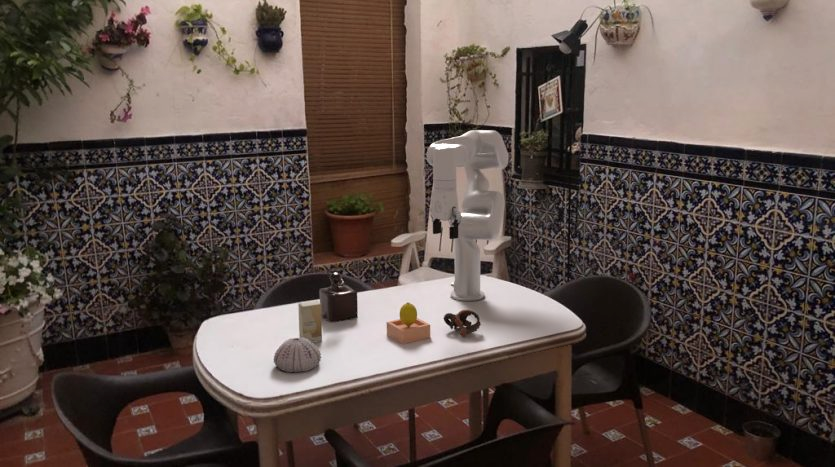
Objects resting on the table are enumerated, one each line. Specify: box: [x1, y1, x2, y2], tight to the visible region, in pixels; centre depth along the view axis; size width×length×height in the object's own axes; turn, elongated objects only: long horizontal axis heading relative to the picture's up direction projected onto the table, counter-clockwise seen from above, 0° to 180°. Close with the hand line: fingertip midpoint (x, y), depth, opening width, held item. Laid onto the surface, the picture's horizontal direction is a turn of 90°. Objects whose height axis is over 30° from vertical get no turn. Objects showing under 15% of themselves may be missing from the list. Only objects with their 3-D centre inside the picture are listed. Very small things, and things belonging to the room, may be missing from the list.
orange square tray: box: [386, 317, 431, 345], centre depth 214 cm, size 10×10×4 cm
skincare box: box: [297, 300, 323, 344], centre depth 211 cm, size 6×4×12 cm
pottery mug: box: [443, 309, 482, 338], centre depth 217 cm, size 12×10×8 cm
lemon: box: [399, 302, 418, 327], centre depth 213 cm, size 6×6×8 cm
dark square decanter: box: [318, 269, 359, 323], centre depth 231 cm, size 16×11×18 cm
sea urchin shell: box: [273, 337, 322, 373], centre depth 193 cm, size 13×14×8 cm
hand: (445, 236), depth 226 cm, fingers open, 9 cm apart
